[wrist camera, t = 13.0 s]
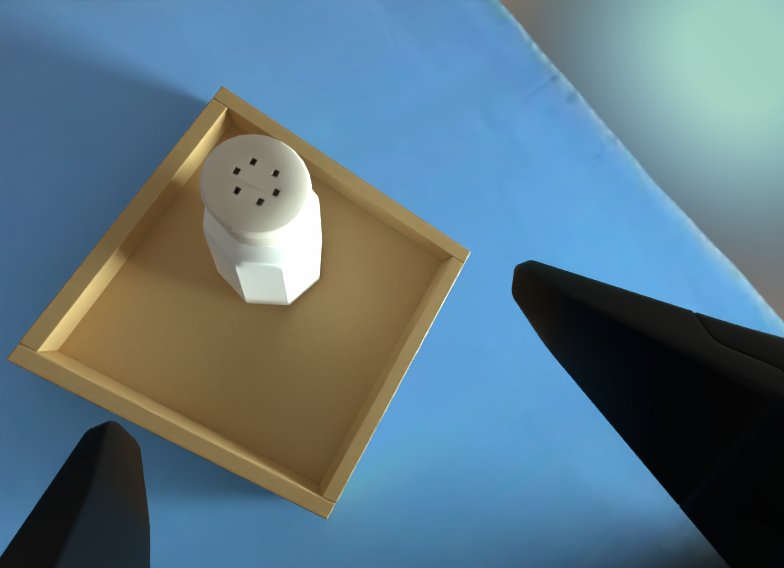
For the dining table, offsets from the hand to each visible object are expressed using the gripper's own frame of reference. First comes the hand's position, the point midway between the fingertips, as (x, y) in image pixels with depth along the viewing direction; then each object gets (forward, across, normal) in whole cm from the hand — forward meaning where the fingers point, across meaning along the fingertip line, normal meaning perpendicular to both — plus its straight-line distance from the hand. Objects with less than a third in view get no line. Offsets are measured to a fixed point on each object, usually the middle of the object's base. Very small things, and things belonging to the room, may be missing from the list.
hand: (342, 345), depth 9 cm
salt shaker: (+12, +1, +6) cm, 14 cm away
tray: (+11, +2, +8) cm, 14 cm away
